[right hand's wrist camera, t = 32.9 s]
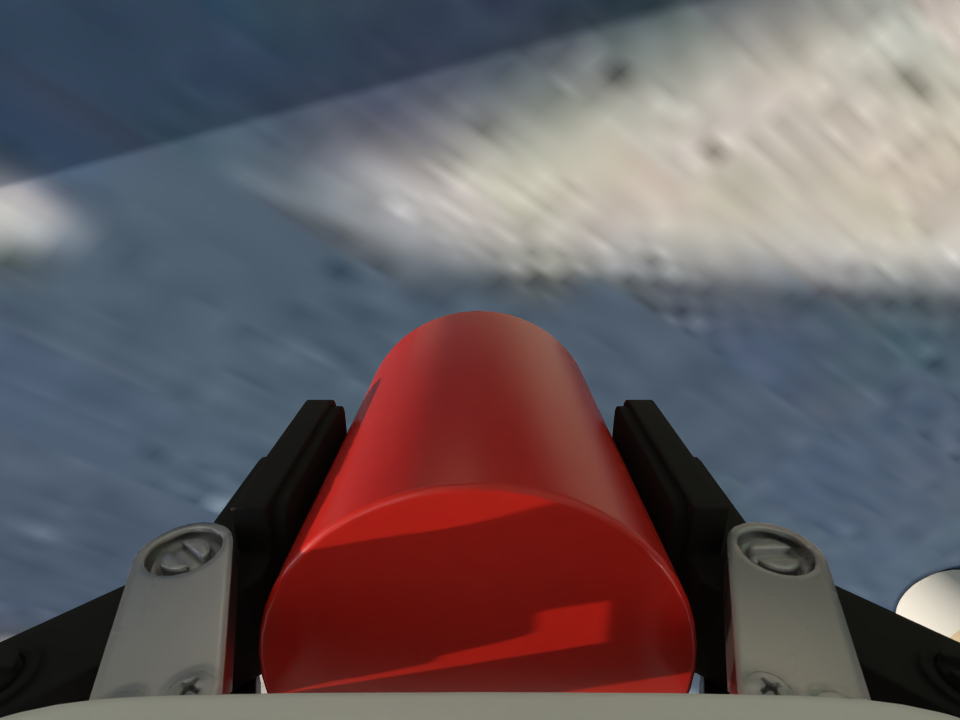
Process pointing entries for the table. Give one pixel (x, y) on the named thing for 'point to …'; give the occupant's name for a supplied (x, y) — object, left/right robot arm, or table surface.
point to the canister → (478, 536)
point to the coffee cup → (935, 603)
